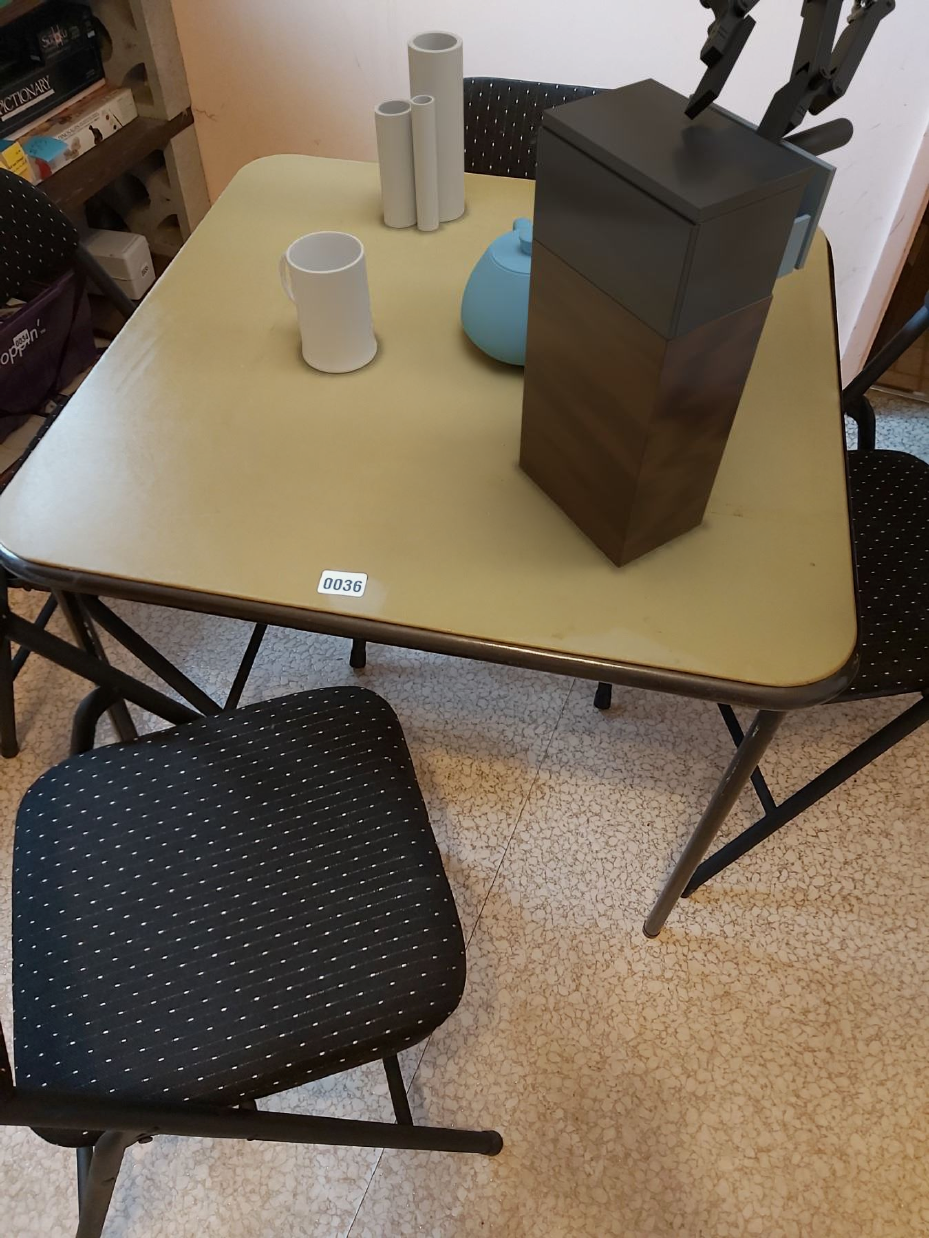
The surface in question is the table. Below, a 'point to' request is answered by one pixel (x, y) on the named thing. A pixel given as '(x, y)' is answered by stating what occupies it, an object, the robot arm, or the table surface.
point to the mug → (331, 300)
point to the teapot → (501, 296)
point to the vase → (424, 137)
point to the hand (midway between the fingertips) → (729, 132)
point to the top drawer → (815, 190)
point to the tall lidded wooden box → (646, 305)
